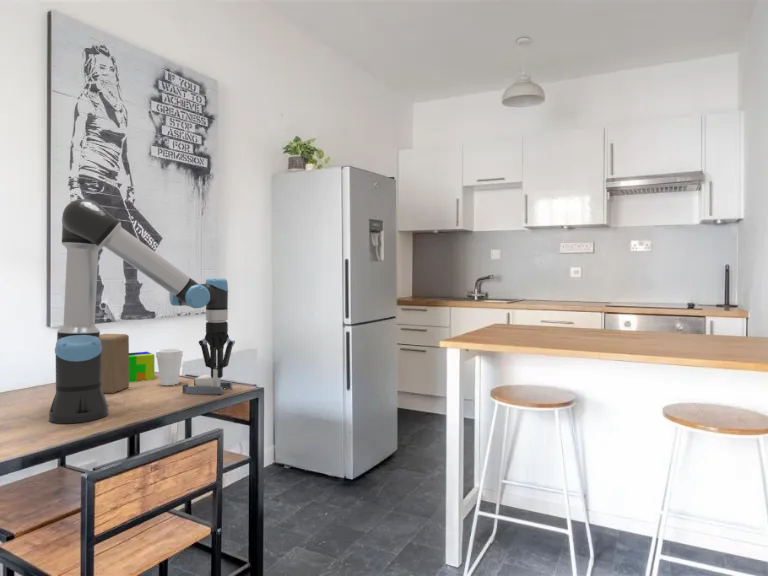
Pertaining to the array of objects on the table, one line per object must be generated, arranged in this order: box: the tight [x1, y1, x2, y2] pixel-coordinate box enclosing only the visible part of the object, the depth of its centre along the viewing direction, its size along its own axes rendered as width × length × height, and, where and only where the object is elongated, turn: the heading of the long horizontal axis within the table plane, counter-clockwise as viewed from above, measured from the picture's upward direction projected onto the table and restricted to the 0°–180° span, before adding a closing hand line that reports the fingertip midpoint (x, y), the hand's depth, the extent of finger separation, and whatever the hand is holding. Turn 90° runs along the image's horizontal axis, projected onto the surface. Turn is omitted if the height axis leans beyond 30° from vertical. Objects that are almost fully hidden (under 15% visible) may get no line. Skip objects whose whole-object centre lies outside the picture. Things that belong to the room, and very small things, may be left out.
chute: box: [181, 379, 233, 395], centre depth 188 cm, size 10×14×3 cm
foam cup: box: [155, 348, 184, 386], centre depth 198 cm, size 10×9×13 cm
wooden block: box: [99, 333, 130, 394], centre depth 187 cm, size 10×10×20 cm
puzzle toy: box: [129, 351, 155, 383], centre depth 208 cm, size 10×10×10 cm
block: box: [194, 374, 213, 387], centre depth 188 cm, size 6×6×5 cm
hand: (216, 386), depth 187 cm, fingers closed
